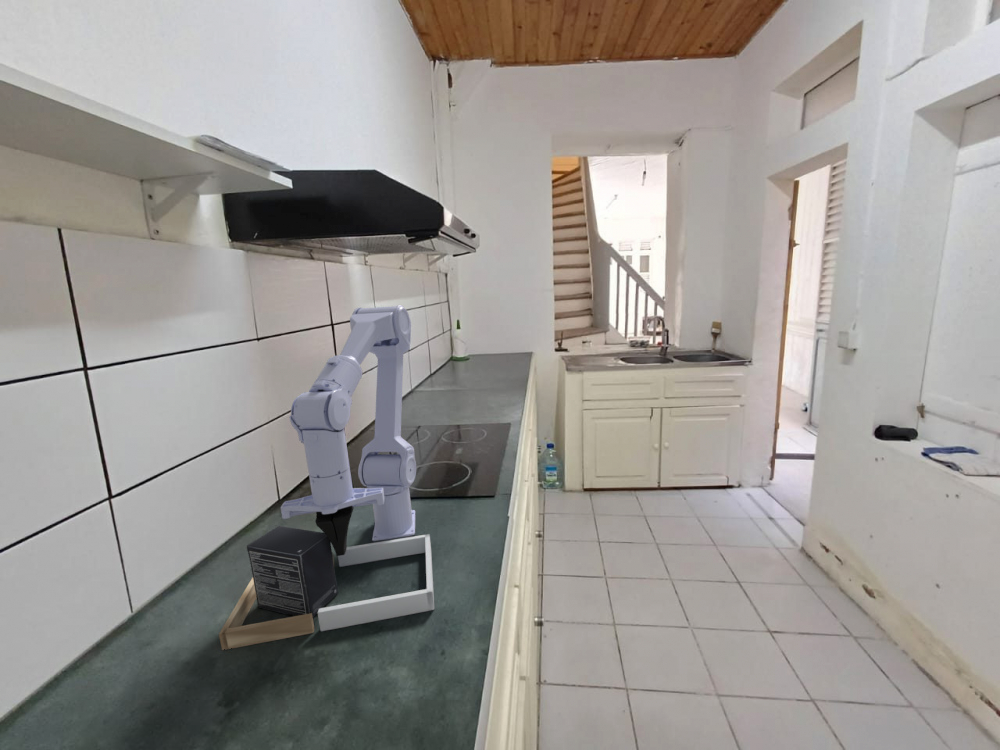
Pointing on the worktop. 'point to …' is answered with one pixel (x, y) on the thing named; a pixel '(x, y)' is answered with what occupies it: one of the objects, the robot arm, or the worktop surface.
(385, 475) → the robot arm
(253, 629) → the block
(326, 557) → the small box
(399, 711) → the worktop surface
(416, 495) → the worktop surface
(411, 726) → the worktop surface
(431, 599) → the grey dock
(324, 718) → the worktop surface
